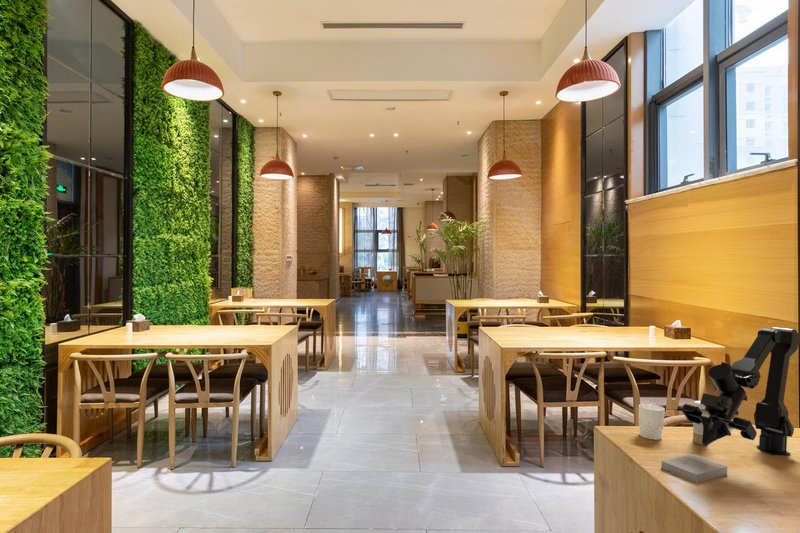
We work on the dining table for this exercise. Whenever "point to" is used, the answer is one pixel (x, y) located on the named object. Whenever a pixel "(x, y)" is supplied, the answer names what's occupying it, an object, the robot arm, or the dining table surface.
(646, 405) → the white cup
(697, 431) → the sprinkles bottle
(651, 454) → the dining table surface
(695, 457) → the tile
